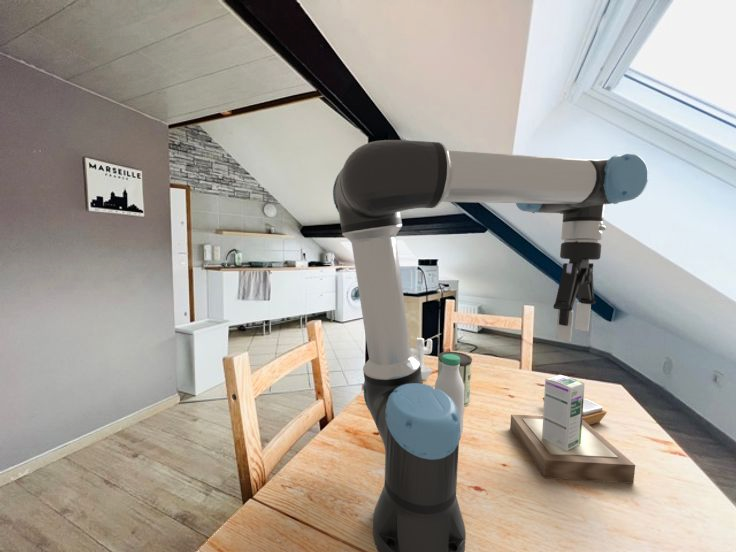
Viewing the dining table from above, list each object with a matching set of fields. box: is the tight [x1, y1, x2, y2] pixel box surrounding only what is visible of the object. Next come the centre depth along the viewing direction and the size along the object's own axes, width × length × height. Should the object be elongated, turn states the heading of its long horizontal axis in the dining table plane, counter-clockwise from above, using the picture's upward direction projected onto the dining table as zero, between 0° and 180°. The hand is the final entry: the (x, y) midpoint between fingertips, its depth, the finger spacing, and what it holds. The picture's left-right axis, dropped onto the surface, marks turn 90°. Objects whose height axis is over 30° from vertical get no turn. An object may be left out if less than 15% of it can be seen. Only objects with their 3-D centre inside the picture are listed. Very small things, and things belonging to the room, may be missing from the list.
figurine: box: [410, 337, 434, 381], centre depth 115 cm, size 7×9×15 cm
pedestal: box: [509, 414, 636, 484], centre depth 74 cm, size 18×18×4 cm
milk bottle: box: [434, 354, 465, 436], centre depth 81 cm, size 8×8×20 cm
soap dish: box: [542, 396, 608, 426], centre depth 91 cm, size 12×10×5 cm
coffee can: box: [437, 351, 473, 408], centre depth 98 cm, size 10×10×14 cm
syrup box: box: [542, 374, 585, 451], centre depth 71 cm, size 6×6×14 cm
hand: (573, 334), depth 71 cm, fingers open, 13 cm apart
